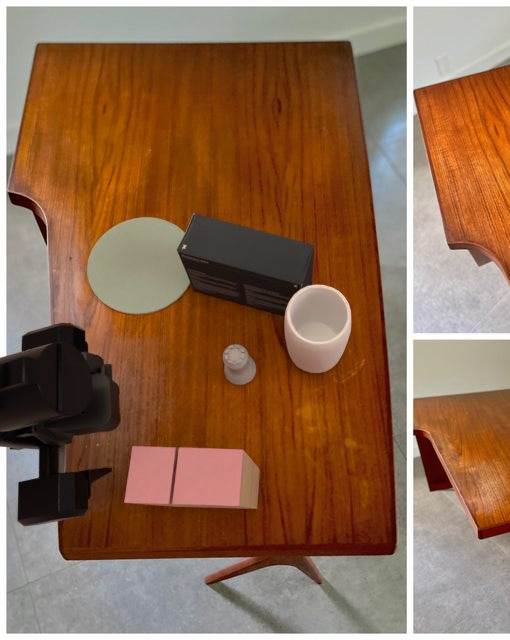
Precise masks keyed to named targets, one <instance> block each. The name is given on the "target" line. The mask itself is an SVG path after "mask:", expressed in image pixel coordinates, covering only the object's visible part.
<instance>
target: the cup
mask: <svg viewBox="0 0 510 640" xmlns="http://www.w3.org/2000/svg"><path fill="white" fill-rule="evenodd" d="M283 327H284V330H283V331H284V338H285V343H286V344H285V345H286V348H287V352H288V355H289V357H290V359H291V362H293V364H294V365H295V366H296V367H297V368H298V369H300V370H301V371H304V372H307V373H310V374H320V373H326V372H328V371H330V370H331V369H332V368H334V367H335V366H336V365H337V364H338V363H339V361H340V360H341V358H342V356H343V354H344V352H345V350H346V347H347V345H348V342H349V339H350V335H351V330H352V311H351V306H350V303H349V302H348V300H347V298H346V296H345V295H343V294H342V293H341V292H340V291H339V290H338V289H336V288H334V287H332V286H329V285H326V284H312V285H310V286H306V287H304V288H302V289H300V290H299V291H298V292H297V293H295V294H294V295H293V297H292V298H291V299H290V301H289V303H288V305H287V308H286V312H285V316H284V326H283Z"/></svg>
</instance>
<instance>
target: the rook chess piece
mask: <svg viewBox="0 0 510 640" xmlns="http://www.w3.org/2000/svg"><path fill="white" fill-rule="evenodd" d="M222 360H223V363H224V366H223V367H224V368H223V369H224V370H223V371H224V375H225V377H226V380H228V381H229V382H230V383H231V384H234V385H237V386H242V385H246V384H248V383H250V382H251V381H252V380H253V379H254V378H255V376H256V373H257V364H256V363H255V360H254V358H253V357H251V356H250V355H249V353H248V351H247V348H245V347H244V345H241V344H238V343H234V344H231V345H229V346H227V347H226V348H225V349H224V350H223V353H222Z"/></svg>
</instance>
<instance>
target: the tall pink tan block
mask: <svg viewBox="0 0 510 640" xmlns="http://www.w3.org/2000/svg"><path fill="white" fill-rule="evenodd" d="M178 449H179V450H178V459H177V467H176V476H175V484H174V493H173V501H172V504H177V505H188V506H196V507H195V508H200V507H208V508H210V509H236V510H237V509H238V510H239V509H242V510H257V509H258V503H259V489H260V473H261V470H260V468H259V467H258V465H257V464H256V463H255V462H254V461H253V459H252V458H251V457H250V456H249V454H248V453H247V452H246V451H245V450H244V449H241V448H213V447H212V448H210V447H187V446H186V447H184V446H183V447H182V446H179V447H178Z"/></svg>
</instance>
